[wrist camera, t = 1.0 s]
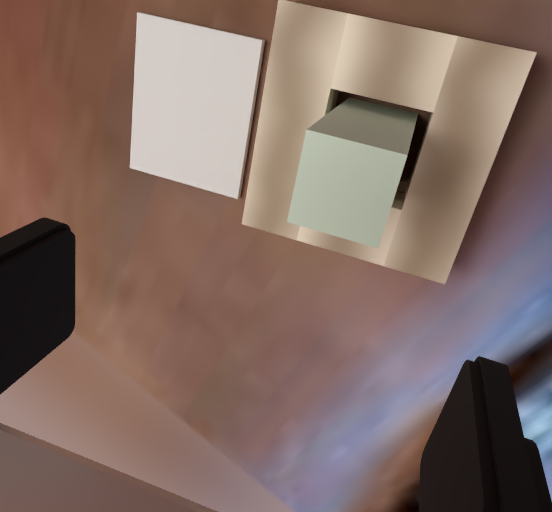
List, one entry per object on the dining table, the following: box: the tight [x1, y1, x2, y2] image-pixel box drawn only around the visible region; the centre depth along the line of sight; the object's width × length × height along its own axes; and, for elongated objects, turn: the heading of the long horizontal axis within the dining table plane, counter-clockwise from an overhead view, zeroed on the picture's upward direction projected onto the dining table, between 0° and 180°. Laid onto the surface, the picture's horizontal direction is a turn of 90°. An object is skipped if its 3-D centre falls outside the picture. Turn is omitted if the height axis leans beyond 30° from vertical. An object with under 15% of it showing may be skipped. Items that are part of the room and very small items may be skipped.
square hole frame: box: [242, 0, 536, 284], centre depth 31 cm, size 14×14×4 cm
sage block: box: [287, 97, 418, 249], centre depth 28 cm, size 4×4×12 cm
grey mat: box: [130, 12, 265, 199], centre depth 35 cm, size 9×11×1 cm
